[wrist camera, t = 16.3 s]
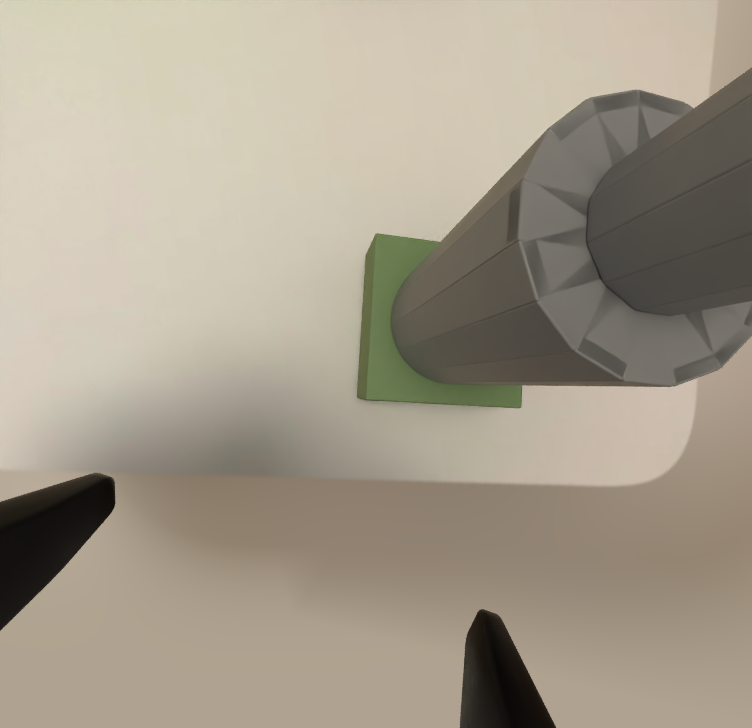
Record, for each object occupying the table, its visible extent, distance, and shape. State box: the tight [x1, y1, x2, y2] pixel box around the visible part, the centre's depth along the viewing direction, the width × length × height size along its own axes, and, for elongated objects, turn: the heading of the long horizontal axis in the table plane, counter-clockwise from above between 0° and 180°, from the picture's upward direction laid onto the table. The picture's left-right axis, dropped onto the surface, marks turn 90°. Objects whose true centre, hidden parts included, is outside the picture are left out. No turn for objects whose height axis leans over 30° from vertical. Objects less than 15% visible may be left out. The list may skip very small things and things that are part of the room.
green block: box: [357, 234, 522, 408], centre depth 20 cm, size 8×8×3 cm
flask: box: [391, 68, 752, 387], centre depth 11 cm, size 6×6×14 cm
